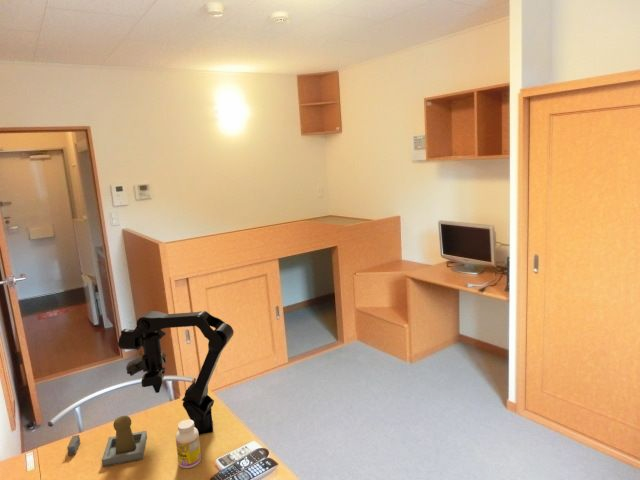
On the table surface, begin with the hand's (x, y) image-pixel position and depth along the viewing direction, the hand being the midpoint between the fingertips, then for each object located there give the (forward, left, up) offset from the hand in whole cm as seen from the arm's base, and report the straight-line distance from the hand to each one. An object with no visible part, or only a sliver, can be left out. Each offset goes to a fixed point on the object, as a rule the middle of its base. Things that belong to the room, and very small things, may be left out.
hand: (157, 392), depth 151 cm
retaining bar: (+26, +4, -13) cm, 30 cm away
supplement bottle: (-10, +22, -13) cm, 28 cm away
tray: (+10, +11, -13) cm, 19 cm away
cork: (+10, +11, -13) cm, 19 cm away
